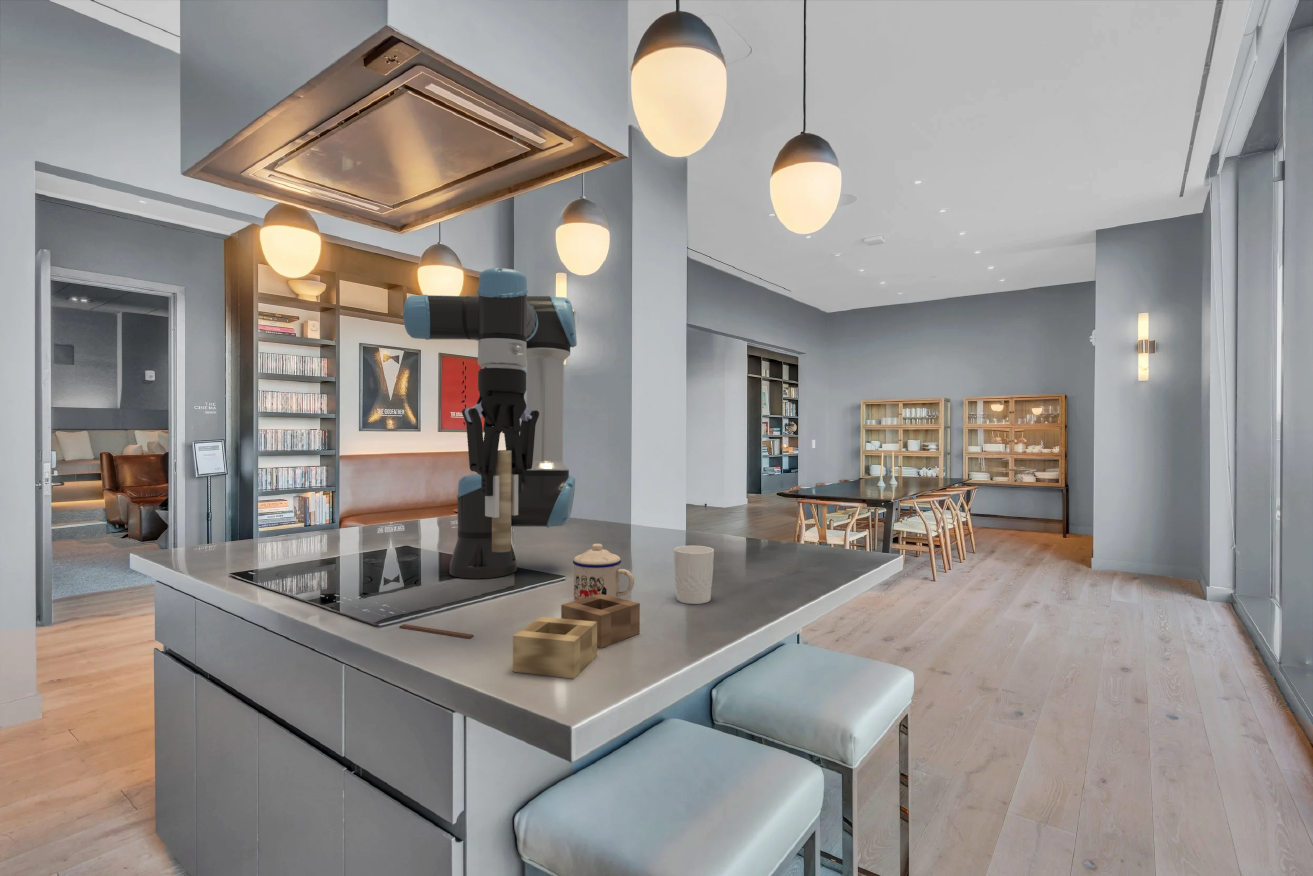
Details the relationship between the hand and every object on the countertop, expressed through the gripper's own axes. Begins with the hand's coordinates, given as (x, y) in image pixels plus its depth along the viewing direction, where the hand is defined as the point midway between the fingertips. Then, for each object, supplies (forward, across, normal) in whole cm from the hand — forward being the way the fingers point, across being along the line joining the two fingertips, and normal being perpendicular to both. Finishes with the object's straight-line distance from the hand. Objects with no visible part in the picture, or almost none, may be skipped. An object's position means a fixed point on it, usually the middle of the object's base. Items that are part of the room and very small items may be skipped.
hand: (501, 515), depth 100 cm
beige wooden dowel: (+6, 0, 0) cm, 6 cm away
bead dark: (+20, +12, -11) cm, 25 cm away
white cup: (+20, +38, -10) cm, 44 cm away
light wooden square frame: (+20, -2, -15) cm, 25 cm away
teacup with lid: (+20, +23, 0) cm, 31 cm away
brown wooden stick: (+20, -6, +10) cm, 23 cm away
